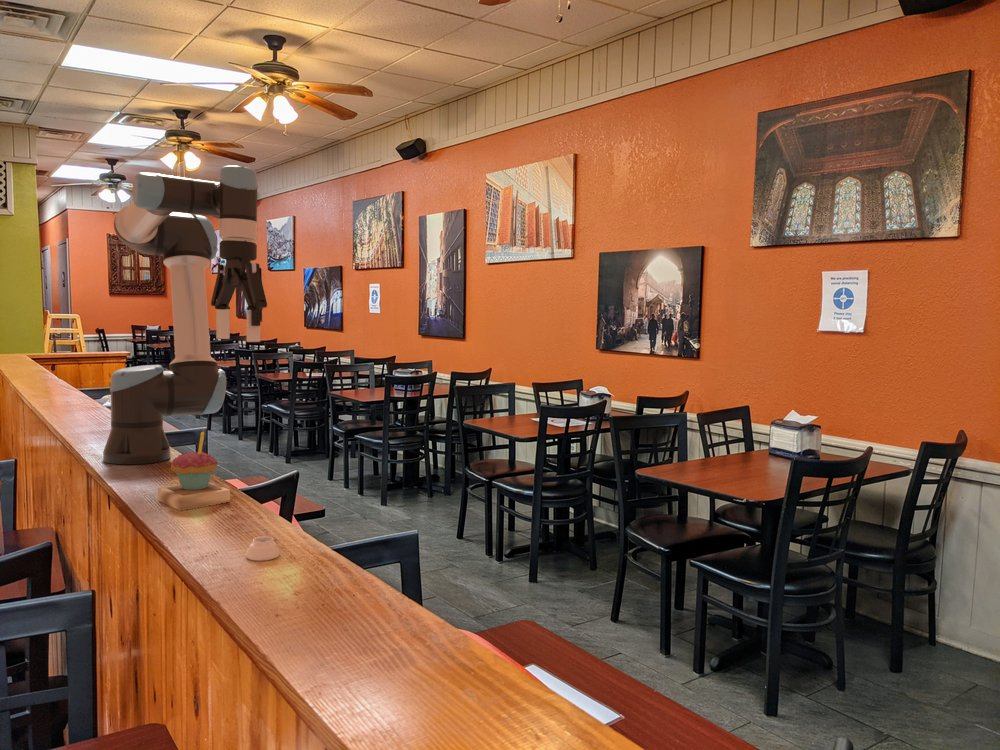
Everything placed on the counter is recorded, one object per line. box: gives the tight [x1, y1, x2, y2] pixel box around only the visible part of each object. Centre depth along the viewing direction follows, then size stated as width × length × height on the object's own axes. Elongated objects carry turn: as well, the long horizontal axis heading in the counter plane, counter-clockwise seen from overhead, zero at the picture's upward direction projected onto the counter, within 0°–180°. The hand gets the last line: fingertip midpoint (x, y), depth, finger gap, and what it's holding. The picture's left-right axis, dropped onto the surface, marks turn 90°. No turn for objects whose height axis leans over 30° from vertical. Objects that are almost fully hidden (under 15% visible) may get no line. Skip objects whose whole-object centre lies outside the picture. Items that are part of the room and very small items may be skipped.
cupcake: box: [170, 428, 219, 490], centre depth 144 cm, size 9×8×12 cm
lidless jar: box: [245, 535, 281, 562], centre depth 113 cm, size 5×3×5 cm
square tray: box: [157, 481, 231, 512], centre depth 144 cm, size 10×10×3 cm
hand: (237, 340), depth 157 cm, fingers open, 13 cm apart
